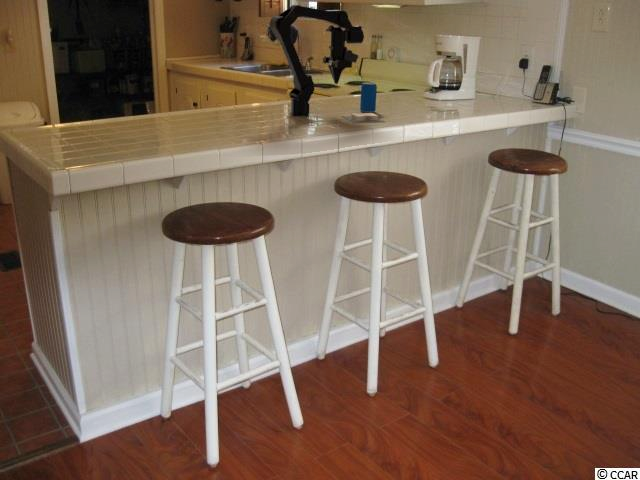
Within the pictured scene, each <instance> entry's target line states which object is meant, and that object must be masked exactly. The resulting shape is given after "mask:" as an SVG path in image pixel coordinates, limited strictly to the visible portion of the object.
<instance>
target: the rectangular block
mask: <svg viewBox="0 0 640 480" xmlns="http://www.w3.org/2000/svg"><path fill="white" fill-rule="evenodd" d="M350 116H351V118H352V119H354V120H356V121H375V120H378V119H379V115H378V114H375V113H374V112H371V113H367V112H363V113H359V112H358V113H351V115H350Z"/></svg>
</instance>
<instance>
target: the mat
mask: <svg viewBox="0 0 640 480" xmlns="http://www.w3.org/2000/svg"><path fill="white" fill-rule="evenodd" d="M341 118H343V119H345V120H347V121H349V122H351V123H353V124H365V123H366V124H370V123H386V121H385V120H383V119H381V118H378V120H375V121H356V120H354V119H352V118H351V115H342V116H341Z"/></svg>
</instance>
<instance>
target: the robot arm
mask: <svg viewBox="0 0 640 480" xmlns="http://www.w3.org/2000/svg"><path fill="white" fill-rule="evenodd" d="M299 17H301V18H302V17H303V18H309V19H313V20H320V21H322V22H325V23H328V24H330V25H329V26H328V28H326V29H325V31H326V32H328V33H330V45H329V46H328V49H330V50H329V51H330V52H329V55H324V56H323V58H322V64H325V65H326V64H328V65H327V67H328V70H329V72H330V74H331V77H332V80H333V82H334V84H335V85H338V84H339V81H340V78H341V75H342V72H343V71H344V70H345V69H350V68H353V63H355V64H356V63H357V61H358V58H359V55H358V54H356V53H353V50H350V49H348V47H347V46H346V43H347V44H350V45H351V44H353V45H354V44H359V45H360V44H363V42H364V39H365V35H364V30H363V29H362V28H363V27H362V25H355V26H354V25H353V24H352V22H351V21H350V19H349V15H348V13H347V11H345V10H342V9H341V10H339V9H333V10H329V9H328V10H324V9H319V8H313V7H310V6H309V7H308V6H302V5H300V4H291V6H289V7H288V9H286V10H284V11H282V12H281V13H280V14H278V15H275V16H273V17H271V19H270V21H269V23H268V24H269V28H270V30H271V32H272V33H273V35H274V36H275V37H276V39H277V41H279V42H280V45H281V48H282V50H283V53H284V55H285V57H286V60H287V63H288V65H289V67H290V70H291V73H292V75H293V81H292V82H293V86H294V87H293V88H292V89H291V91H290V92H289V93H288V95H289V97H290V99H291V100H290V104H291V105H290V109H291V111H290V112H289V114H290V115H292V116H293V117H309V116H310V103H309V102H310V100H311V97H312V95H313V94H314V92H315V86H316V84H315V82H314V81H313V77H312V75H310V74H307V73H305V71H304V68H303V65H302V63H301V59H300V58H299V55H298V52H297V49H296V47H295V45H294V42H293V39H292V29H291V25H293V24H294V23H295V22H296V20H298V18H299Z"/></svg>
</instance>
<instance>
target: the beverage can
mask: <svg viewBox="0 0 640 480" xmlns="http://www.w3.org/2000/svg"><path fill="white" fill-rule="evenodd" d="M377 90H378V86H377V83H376V82H371V81H368V82H367V81H366V82H362V83H361V85H360V104H359V106H360V107H359V110H360V111H361V112H363V113H374V112H375V111H376V108H377V105H376V104H377Z"/></svg>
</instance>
